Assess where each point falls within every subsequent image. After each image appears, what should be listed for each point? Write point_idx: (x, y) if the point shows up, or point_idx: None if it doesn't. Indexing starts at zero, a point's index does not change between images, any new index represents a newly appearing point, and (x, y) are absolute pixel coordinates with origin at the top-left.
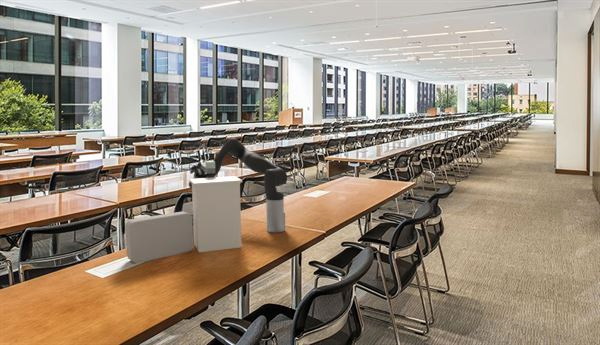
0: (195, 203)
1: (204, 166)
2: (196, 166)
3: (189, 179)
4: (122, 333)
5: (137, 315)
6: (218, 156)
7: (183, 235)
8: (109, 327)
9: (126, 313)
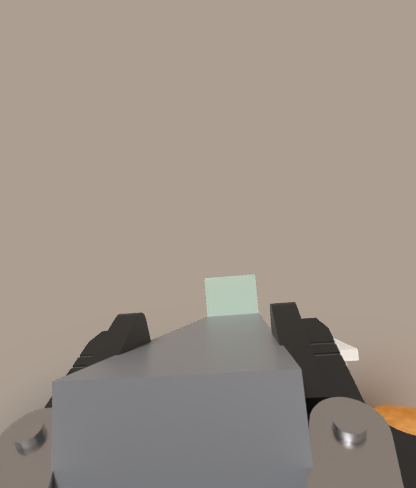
0: None
1: (259, 315)
2: (405, 450)
3: (356, 350)
4: (389, 409)
5: (389, 422)
6: None
7: None
8: (410, 414)
9: (406, 426)
